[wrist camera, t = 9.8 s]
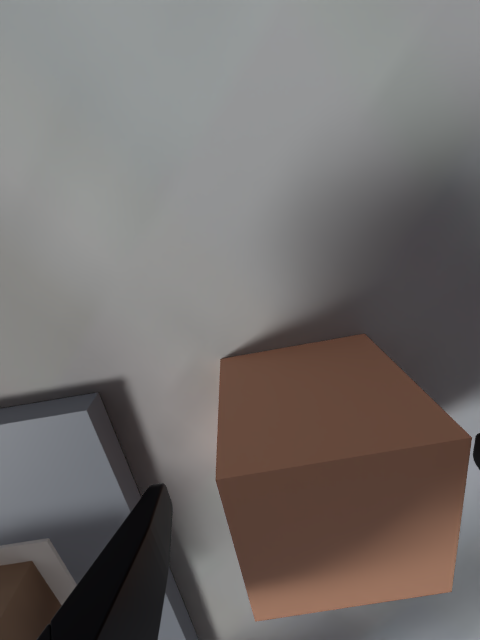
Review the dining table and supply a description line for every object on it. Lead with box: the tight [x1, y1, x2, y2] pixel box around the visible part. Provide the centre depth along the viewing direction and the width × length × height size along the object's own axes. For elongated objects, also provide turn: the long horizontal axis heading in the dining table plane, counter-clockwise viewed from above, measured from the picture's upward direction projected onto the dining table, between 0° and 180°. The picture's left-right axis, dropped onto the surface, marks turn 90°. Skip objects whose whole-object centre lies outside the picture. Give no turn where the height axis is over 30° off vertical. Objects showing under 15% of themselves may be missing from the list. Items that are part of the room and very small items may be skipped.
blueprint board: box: [0, 392, 199, 640], centre depth 14 cm, size 18×14×1 cm
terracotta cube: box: [216, 334, 472, 622], centre depth 9 cm, size 5×5×5 cm
